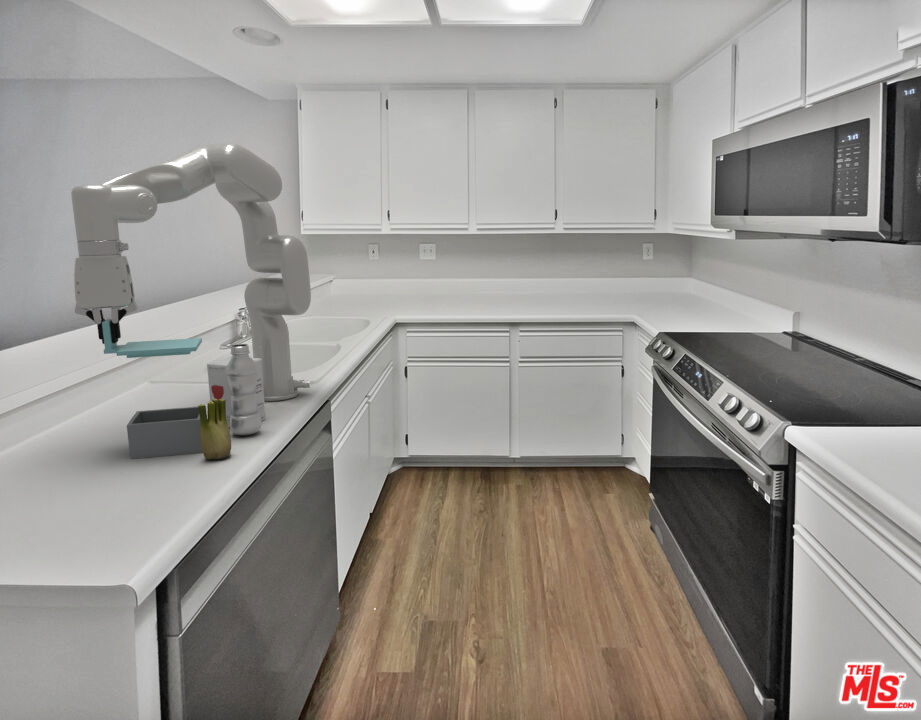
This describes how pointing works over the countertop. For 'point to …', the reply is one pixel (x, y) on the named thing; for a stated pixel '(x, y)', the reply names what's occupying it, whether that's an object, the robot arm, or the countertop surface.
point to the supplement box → (221, 385)
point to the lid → (148, 346)
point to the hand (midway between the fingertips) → (110, 342)
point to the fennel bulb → (214, 430)
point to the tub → (164, 432)
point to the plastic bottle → (243, 391)
